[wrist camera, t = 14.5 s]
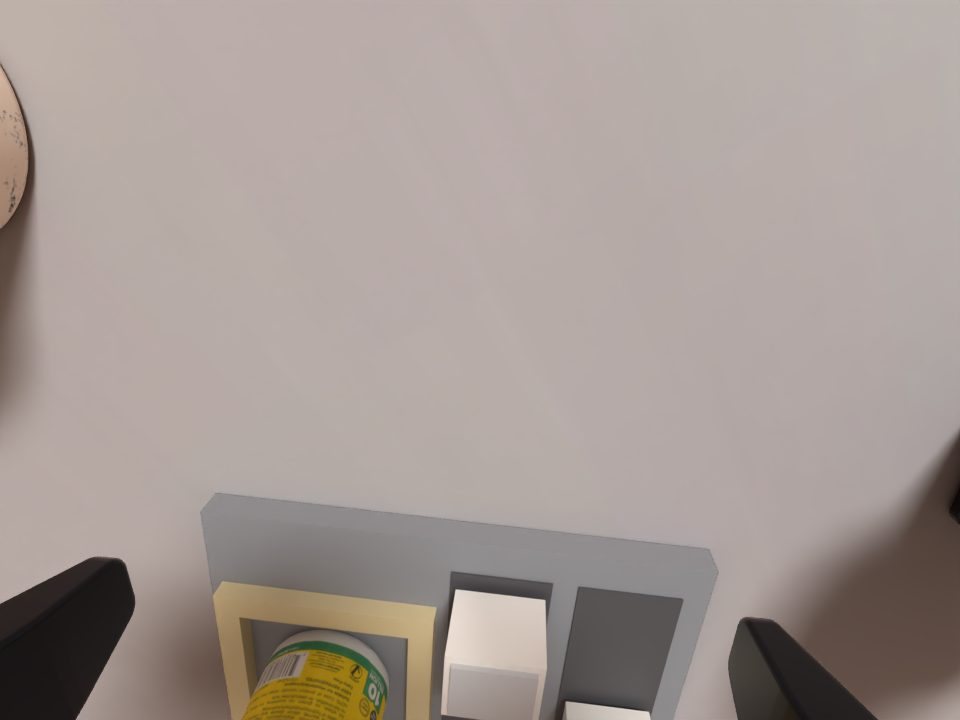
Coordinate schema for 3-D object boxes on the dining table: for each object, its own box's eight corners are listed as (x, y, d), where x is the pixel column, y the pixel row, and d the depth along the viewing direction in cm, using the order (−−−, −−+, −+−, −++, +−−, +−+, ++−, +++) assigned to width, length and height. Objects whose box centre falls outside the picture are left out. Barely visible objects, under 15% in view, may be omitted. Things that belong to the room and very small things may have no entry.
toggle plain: (545, 600, 22) (547, 674, 19) (536, 655, 23) (537, 732, 20) (455, 589, 22) (443, 661, 19) (451, 644, 23) (440, 719, 21)
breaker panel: (709, 549, 22) (725, 588, 21) (643, 772, 28) (651, 818, 26) (215, 493, 23) (189, 525, 22) (247, 719, 29) (228, 759, 27)
